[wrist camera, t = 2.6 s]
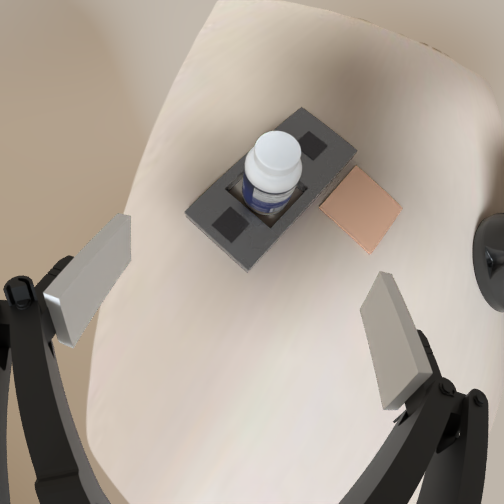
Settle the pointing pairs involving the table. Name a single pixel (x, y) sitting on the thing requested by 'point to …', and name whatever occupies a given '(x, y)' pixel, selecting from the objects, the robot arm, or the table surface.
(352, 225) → the coaster
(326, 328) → the table surface
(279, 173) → the pill bottle
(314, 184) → the holder
